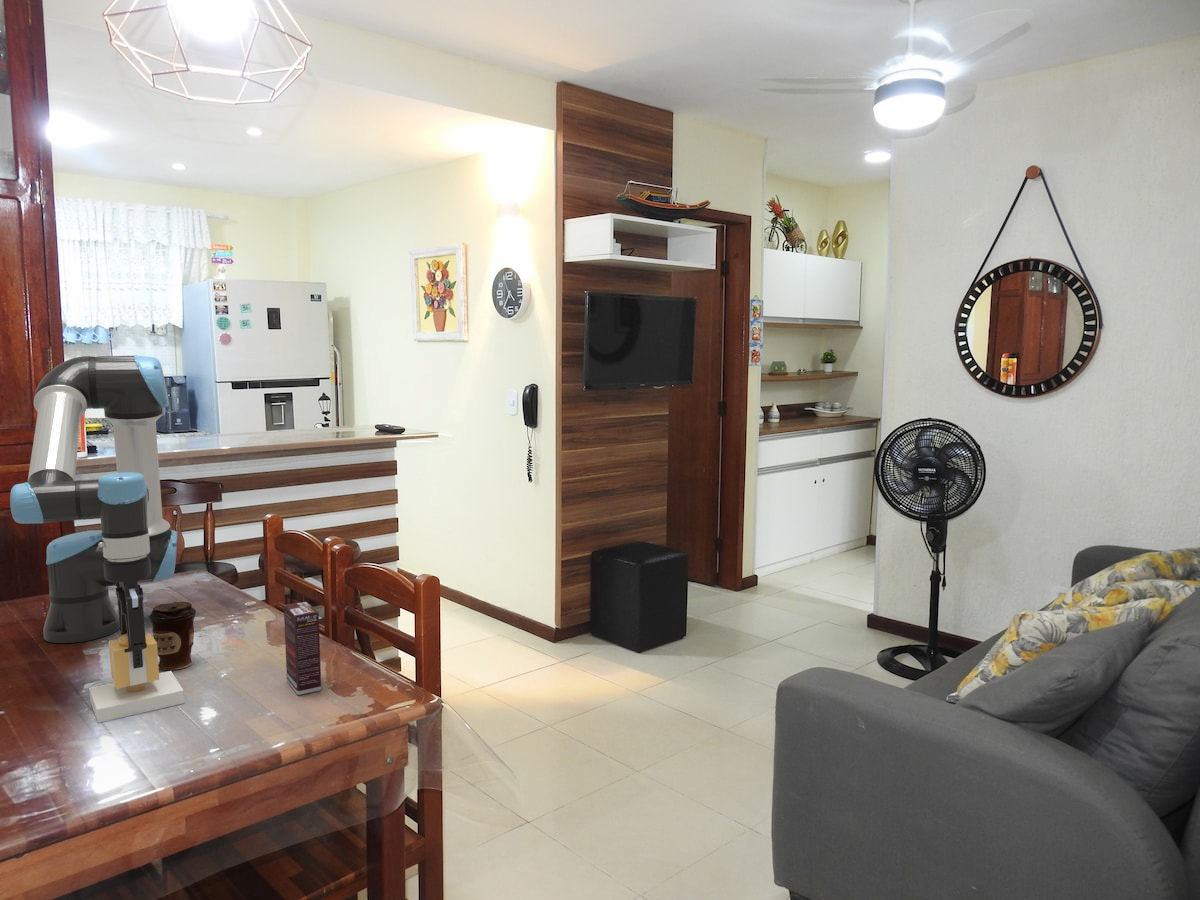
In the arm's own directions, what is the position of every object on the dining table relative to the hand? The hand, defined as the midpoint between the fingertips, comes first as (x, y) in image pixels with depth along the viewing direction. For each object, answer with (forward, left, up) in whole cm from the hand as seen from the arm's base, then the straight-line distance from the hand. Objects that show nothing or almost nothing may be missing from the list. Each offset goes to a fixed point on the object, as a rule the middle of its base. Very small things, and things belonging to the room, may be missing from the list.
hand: (135, 676), depth 157 cm
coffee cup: (-16, +9, -5) cm, 19 cm away
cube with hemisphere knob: (0, 0, 0) cm, 0 cm away
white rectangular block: (0, 0, -5) cm, 5 cm away
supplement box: (+11, +28, -5) cm, 30 cm away
